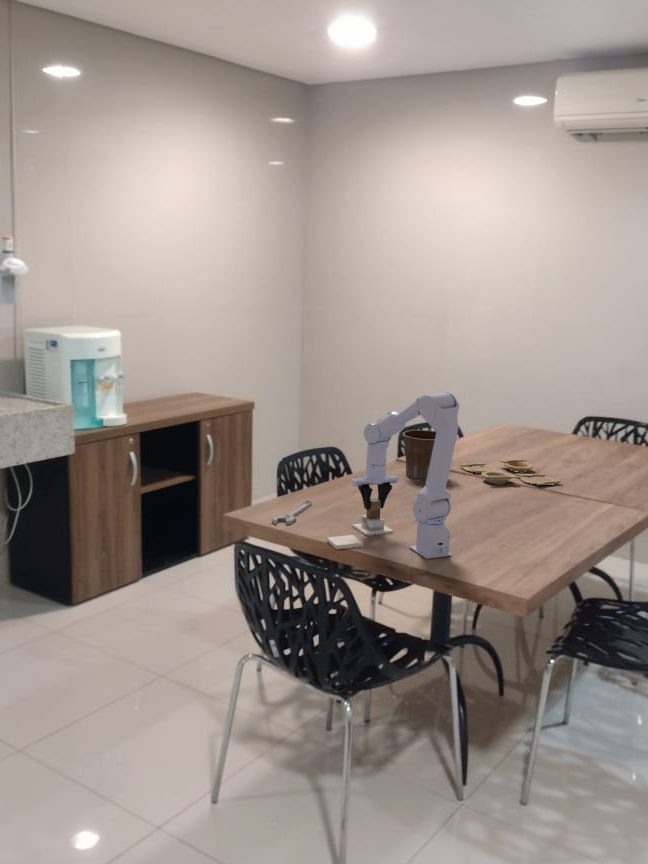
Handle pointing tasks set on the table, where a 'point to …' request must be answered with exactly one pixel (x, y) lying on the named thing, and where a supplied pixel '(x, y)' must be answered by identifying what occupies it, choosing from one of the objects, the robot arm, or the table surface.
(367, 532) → the mat
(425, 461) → the plant pot
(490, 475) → the tableware set
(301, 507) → the adjustable wrench
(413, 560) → the table surface
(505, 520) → the table surface
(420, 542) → the robot arm
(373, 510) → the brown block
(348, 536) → the tile
